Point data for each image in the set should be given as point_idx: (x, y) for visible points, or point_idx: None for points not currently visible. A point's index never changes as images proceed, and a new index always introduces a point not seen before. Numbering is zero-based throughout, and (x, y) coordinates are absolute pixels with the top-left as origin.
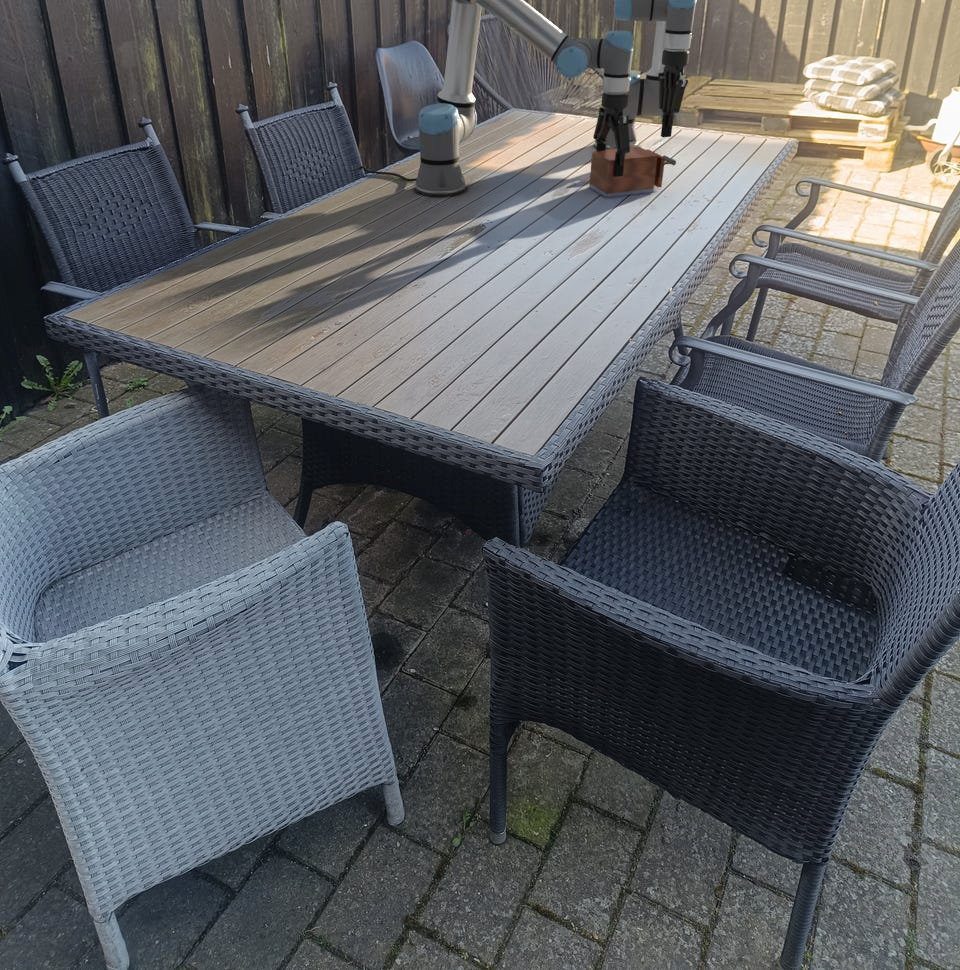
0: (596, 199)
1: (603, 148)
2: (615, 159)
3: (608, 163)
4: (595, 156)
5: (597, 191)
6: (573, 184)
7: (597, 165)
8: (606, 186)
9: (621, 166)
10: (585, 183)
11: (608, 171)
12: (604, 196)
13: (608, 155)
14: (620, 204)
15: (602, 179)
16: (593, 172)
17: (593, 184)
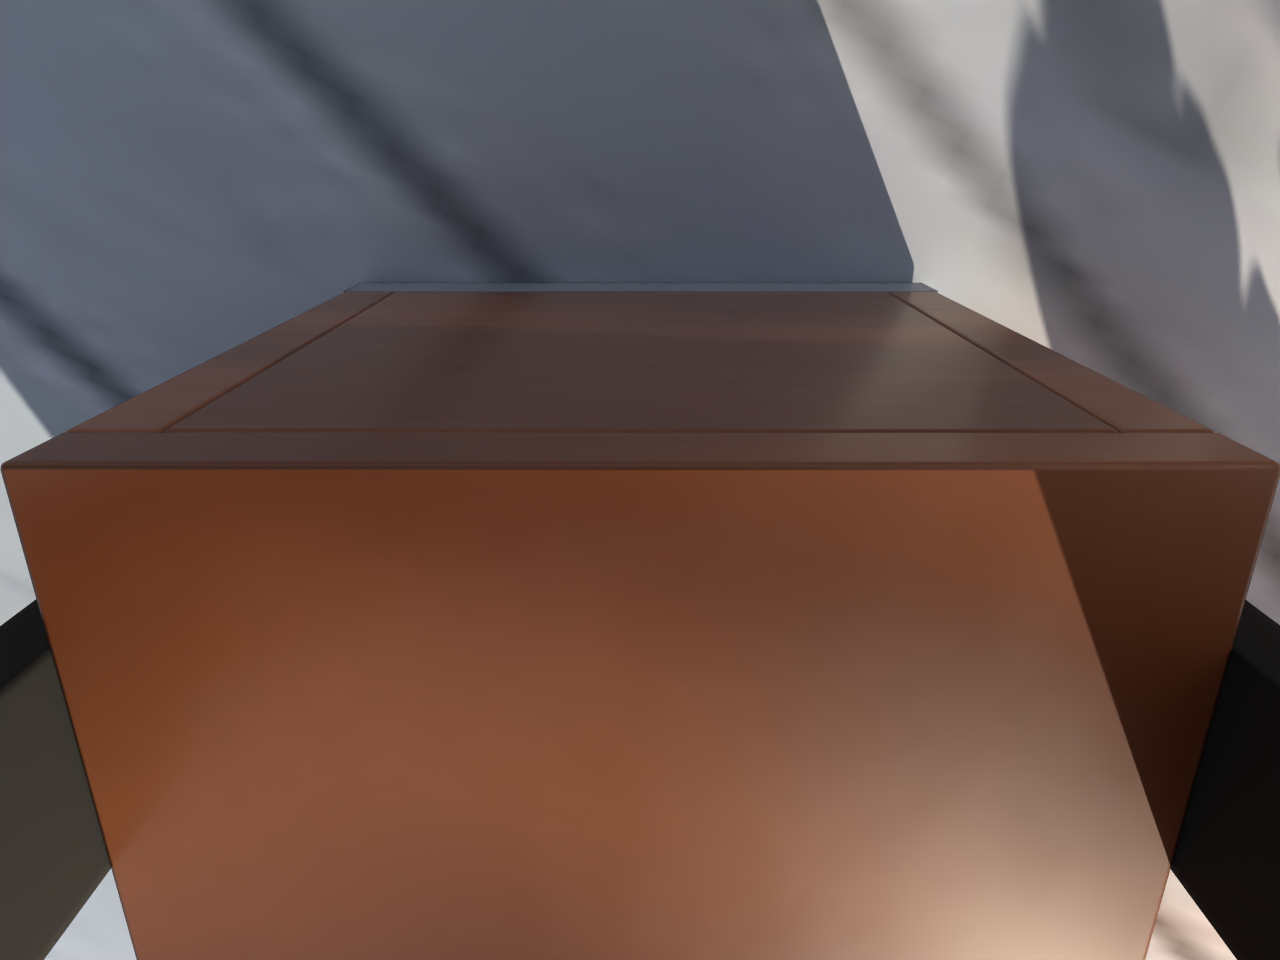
0: (313, 97)
1: (1216, 846)
2: (4, 661)
3: (96, 433)
4: (968, 432)
5: (642, 283)
6: (1176, 105)
7: (757, 375)
8: (322, 310)
9: None
10: (1117, 317)
11: (171, 379)
12: (412, 283)
13: (590, 696)
14: (15, 332)
15: (477, 324)
16: (884, 331)
17: (802, 294)
